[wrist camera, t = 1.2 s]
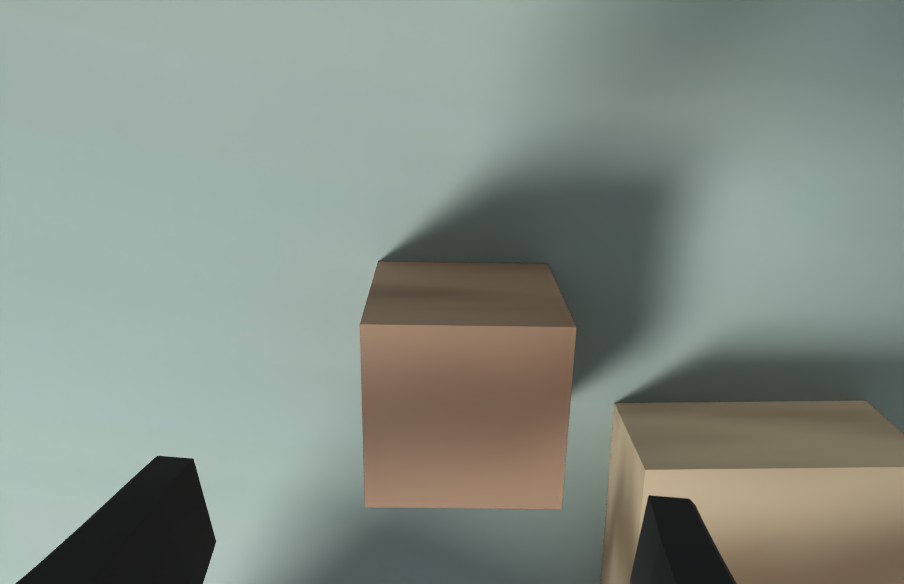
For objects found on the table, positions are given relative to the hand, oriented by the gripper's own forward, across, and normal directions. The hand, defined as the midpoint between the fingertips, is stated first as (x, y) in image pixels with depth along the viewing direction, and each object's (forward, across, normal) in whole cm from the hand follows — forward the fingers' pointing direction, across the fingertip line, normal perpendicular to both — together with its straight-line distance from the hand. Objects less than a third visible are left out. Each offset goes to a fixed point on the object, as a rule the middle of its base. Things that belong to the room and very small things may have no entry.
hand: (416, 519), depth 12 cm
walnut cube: (+10, 0, +4) cm, 11 cm away
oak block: (+10, -9, +10) cm, 17 cm away
